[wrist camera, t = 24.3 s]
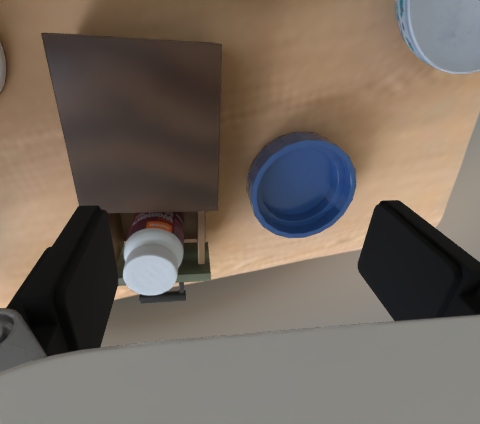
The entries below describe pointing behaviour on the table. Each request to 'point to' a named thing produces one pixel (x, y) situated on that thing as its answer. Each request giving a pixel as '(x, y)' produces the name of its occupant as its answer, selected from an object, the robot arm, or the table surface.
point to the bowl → (300, 184)
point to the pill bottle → (154, 252)
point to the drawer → (194, 255)
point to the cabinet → (139, 120)
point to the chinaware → (442, 32)
